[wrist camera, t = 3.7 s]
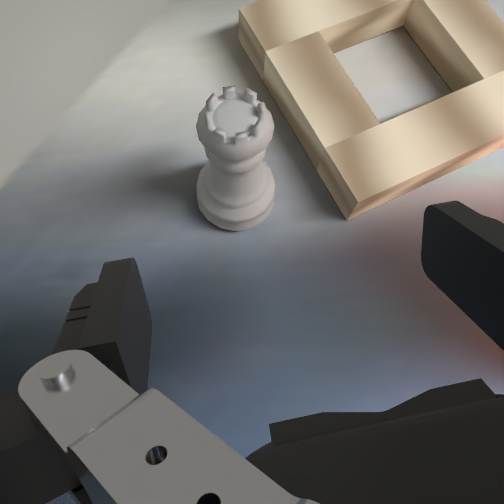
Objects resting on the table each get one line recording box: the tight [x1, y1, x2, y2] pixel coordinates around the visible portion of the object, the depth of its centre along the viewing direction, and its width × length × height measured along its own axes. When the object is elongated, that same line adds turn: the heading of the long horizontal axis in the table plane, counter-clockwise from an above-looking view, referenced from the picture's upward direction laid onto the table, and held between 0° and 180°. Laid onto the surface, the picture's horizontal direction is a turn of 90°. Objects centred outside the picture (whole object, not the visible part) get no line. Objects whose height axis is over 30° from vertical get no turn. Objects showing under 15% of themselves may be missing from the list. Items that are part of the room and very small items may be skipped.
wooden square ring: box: [239, 0, 504, 220], centre depth 26 cm, size 14×14×2 cm
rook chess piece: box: [196, 86, 276, 231], centre depth 21 cm, size 4×4×8 cm
